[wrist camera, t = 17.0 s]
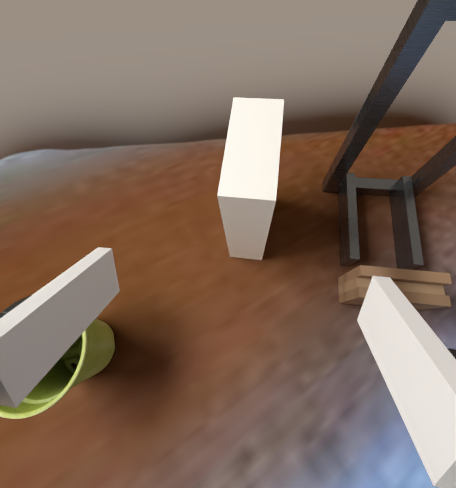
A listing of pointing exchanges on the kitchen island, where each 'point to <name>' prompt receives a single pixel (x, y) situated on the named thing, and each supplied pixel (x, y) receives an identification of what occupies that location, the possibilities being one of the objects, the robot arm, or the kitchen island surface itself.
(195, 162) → the kitchen island surface
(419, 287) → the offcut stack
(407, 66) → the frame
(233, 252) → the white block
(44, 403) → the plant pot
